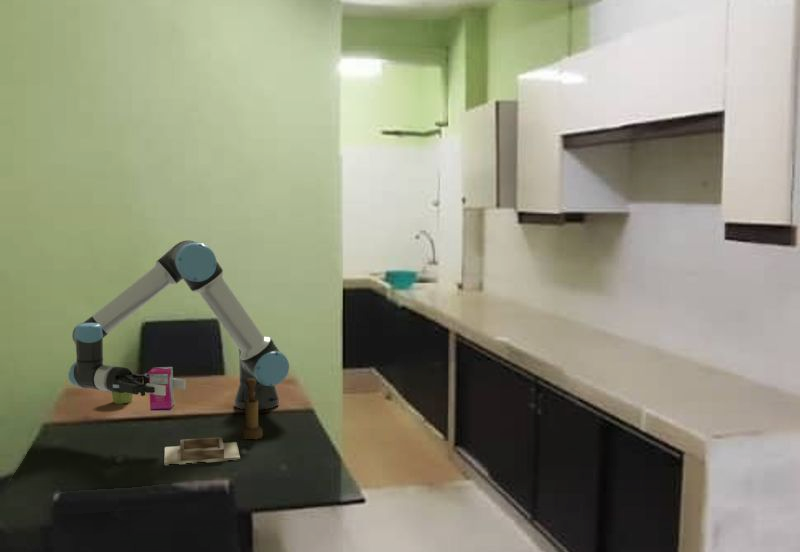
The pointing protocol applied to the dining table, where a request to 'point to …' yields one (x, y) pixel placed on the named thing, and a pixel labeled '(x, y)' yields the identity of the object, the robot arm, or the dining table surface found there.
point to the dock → (201, 451)
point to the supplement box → (166, 379)
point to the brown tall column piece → (251, 414)
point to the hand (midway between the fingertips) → (174, 387)
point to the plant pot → (121, 397)
